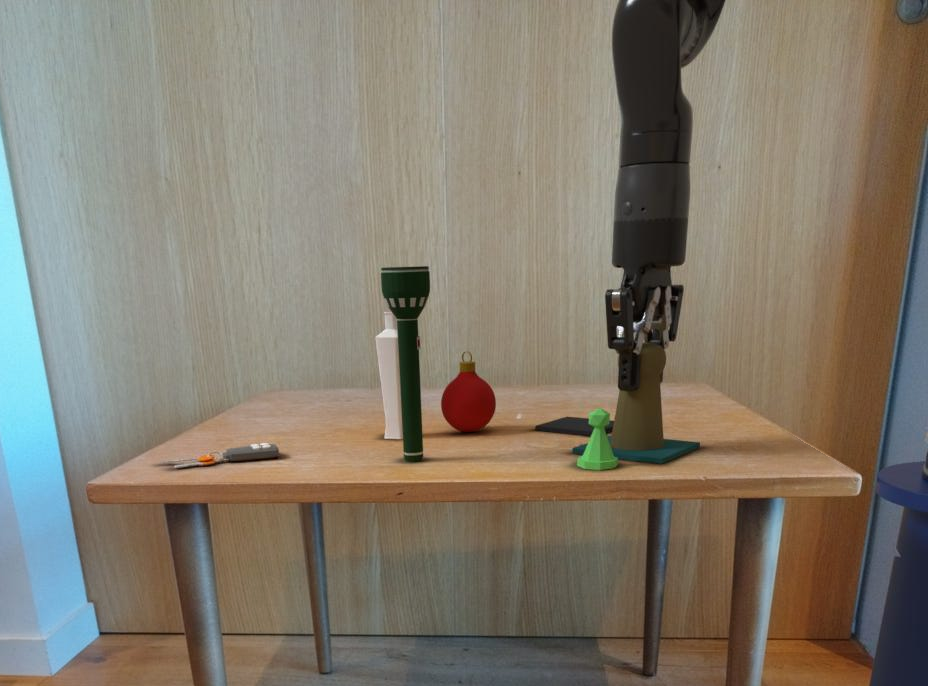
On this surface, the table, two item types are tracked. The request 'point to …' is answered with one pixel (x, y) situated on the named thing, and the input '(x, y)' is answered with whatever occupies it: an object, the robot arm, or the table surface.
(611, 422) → the charcoal pad
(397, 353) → the perfume bottle
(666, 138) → the robot arm
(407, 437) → the flashlight
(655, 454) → the teal pad
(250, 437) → the table surface
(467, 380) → the christmas ornament
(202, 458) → the key chain
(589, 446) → the game piece
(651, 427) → the cork
